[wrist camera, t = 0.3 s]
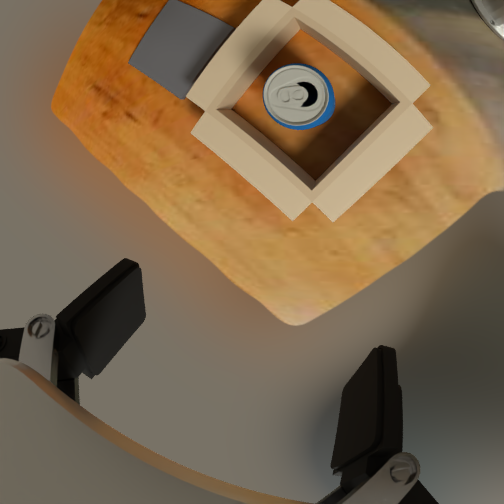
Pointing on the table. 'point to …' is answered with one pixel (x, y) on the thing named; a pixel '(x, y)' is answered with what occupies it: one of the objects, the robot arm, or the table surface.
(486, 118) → the table surface
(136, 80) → the table surface
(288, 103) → the beverage can
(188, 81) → the mat
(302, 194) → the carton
